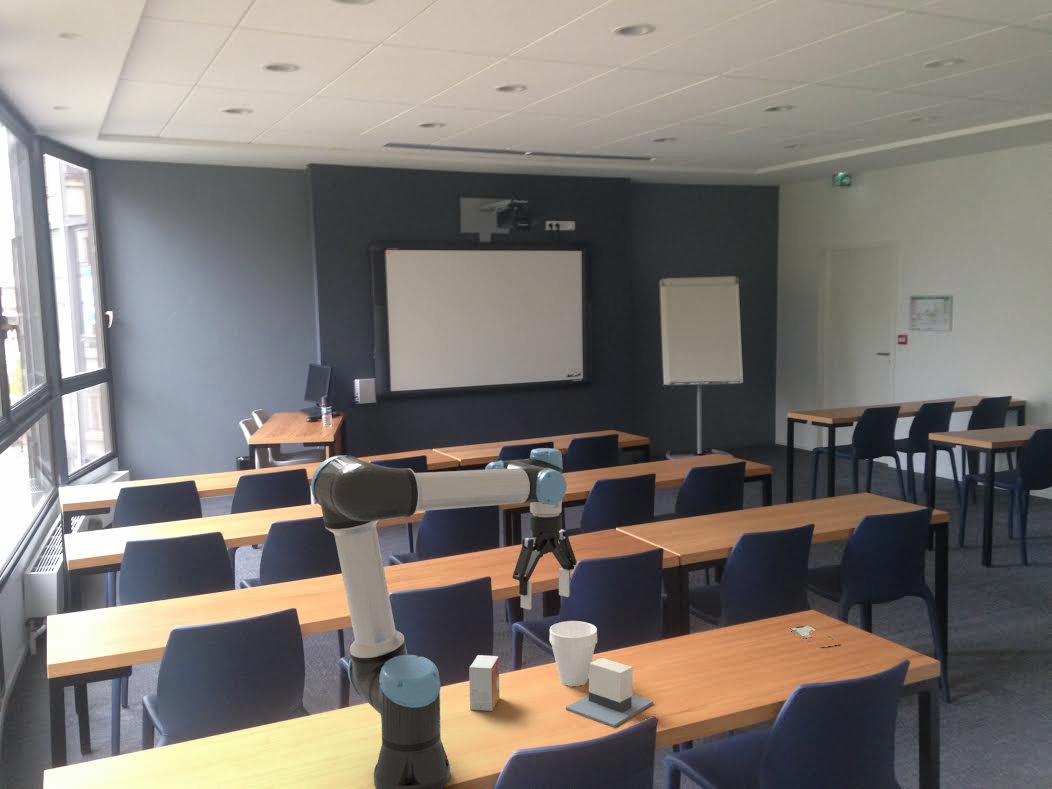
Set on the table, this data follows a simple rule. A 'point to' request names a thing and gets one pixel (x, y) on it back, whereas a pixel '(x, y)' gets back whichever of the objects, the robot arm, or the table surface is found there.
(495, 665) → the small box
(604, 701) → the header
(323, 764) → the table surface
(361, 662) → the robot arm
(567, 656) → the cup
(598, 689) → the block
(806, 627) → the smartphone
